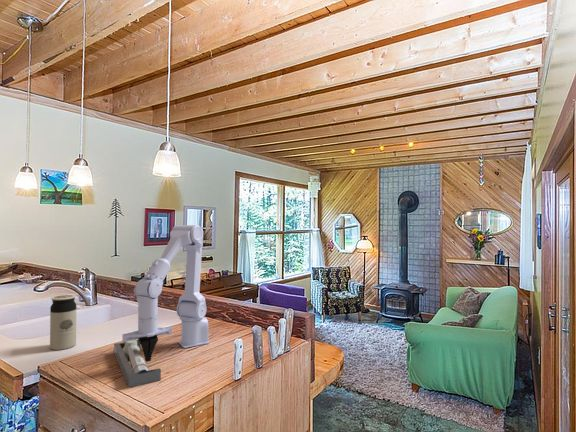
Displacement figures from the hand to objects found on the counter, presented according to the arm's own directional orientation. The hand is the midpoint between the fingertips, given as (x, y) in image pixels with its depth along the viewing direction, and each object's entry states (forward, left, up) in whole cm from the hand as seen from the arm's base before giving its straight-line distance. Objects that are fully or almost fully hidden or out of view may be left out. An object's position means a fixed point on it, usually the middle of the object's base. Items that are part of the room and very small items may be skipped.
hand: (147, 360), depth 112 cm
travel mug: (+22, -34, -2) cm, 41 cm away
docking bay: (+3, -2, -1) cm, 4 cm away
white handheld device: (+4, 0, -2) cm, 4 cm away
